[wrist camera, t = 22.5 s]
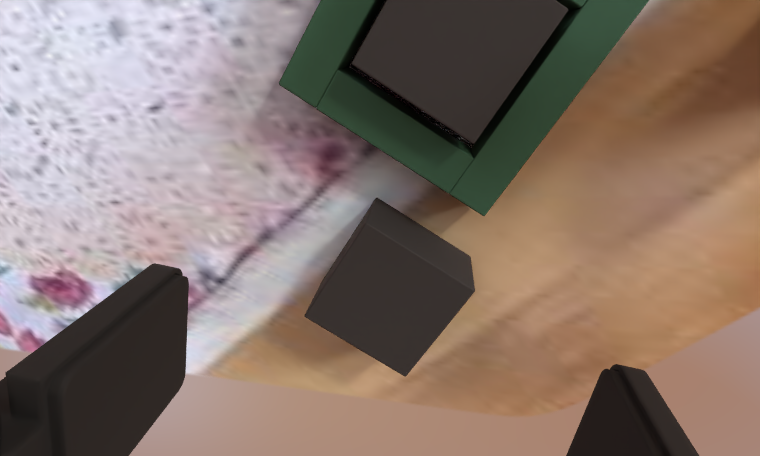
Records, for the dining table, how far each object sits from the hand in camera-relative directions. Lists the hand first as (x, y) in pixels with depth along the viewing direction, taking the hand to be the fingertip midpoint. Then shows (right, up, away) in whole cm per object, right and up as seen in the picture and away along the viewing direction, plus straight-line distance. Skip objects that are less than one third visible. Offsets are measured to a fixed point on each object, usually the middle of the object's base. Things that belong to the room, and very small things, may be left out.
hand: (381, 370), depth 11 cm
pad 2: (+1, +1, +16) cm, 16 cm away
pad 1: (+3, +12, +12) cm, 17 cm away
